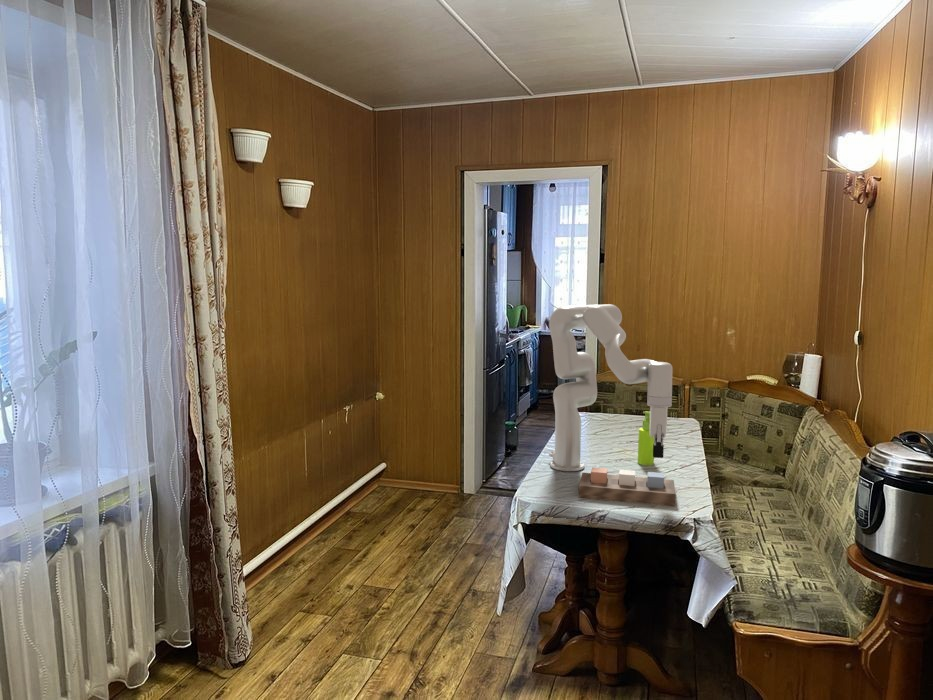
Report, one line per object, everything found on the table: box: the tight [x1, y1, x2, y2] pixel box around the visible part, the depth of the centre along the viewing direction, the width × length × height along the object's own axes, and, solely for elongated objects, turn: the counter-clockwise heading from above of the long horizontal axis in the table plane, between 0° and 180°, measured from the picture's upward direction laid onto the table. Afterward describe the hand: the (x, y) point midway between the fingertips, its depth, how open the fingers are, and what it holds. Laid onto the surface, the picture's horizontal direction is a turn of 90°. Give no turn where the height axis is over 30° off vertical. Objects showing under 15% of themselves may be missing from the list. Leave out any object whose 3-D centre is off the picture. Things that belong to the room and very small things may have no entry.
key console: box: [577, 472, 677, 507], centre depth 219 cm, size 30×14×4 cm, turn 75°
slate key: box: [646, 471, 665, 489], centre depth 216 cm, size 5×5×4 cm
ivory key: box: [618, 469, 636, 486], centre depth 218 cm, size 5×5×4 cm
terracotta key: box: [590, 466, 608, 484], centre depth 221 cm, size 5×5×4 cm
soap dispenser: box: [637, 410, 655, 466], centre depth 252 cm, size 6×7×20 cm
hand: (658, 456), depth 215 cm, fingers closed
